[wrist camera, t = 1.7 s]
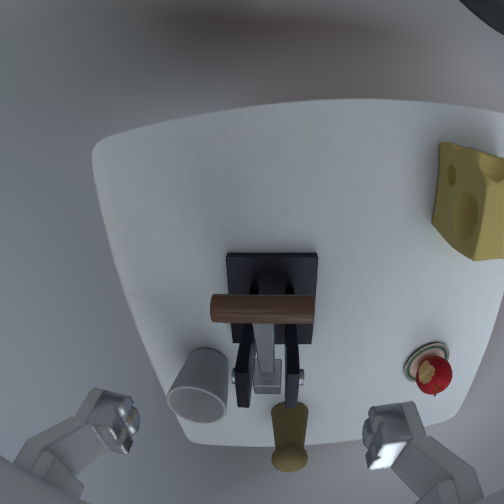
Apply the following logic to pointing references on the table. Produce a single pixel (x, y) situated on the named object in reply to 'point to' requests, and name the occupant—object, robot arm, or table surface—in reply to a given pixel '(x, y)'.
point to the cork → (289, 437)
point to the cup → (201, 388)
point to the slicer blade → (263, 327)
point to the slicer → (274, 283)
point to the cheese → (470, 202)
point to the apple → (430, 368)
